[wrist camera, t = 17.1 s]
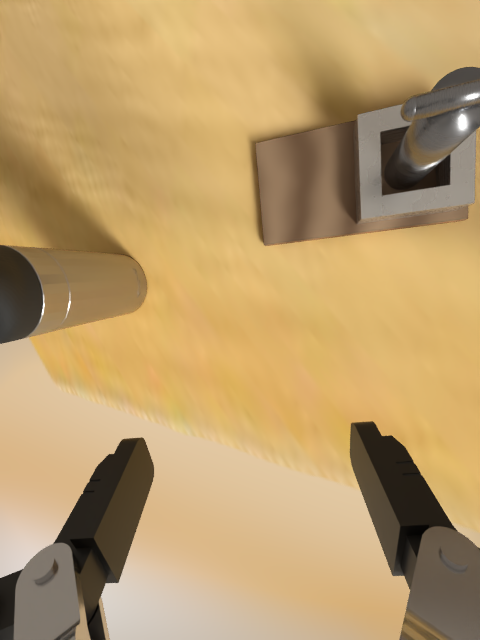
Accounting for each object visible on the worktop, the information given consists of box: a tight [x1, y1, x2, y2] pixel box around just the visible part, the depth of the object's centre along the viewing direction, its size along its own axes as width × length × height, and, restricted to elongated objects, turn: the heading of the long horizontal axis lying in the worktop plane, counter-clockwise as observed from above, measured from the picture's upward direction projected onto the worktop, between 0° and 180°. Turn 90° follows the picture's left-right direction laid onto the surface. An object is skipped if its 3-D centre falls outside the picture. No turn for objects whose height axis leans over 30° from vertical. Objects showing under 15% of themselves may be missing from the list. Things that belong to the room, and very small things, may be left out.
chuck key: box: [384, 67, 480, 190], centre depth 24 cm, size 7×4×14 cm, turn 97°
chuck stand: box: [255, 104, 476, 246], centre depth 31 cm, size 22×12×5 cm, turn 96°
